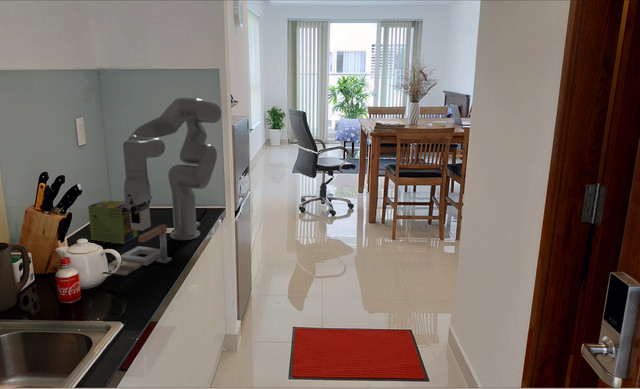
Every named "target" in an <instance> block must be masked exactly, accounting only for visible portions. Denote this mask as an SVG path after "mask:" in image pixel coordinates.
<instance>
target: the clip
mask: <svg viewBox="0 0 640 389" xmlns="http://www.w3.org/2000/svg"><path fill="white" fill-rule="evenodd" d="M162 232H166V233H167V232H168V226H167V224H158V225H157V226H156V227H154V228H152V229H149V230H148V231H146V232H144V233H142V234H140V235H137V237H138V242H139V243H146V242H147V241H149V240H152V238H155V237H157V236H159V234H160V233H162Z"/></svg>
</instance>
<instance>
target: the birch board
mask: <svg viewBox="0 0 640 389" xmlns="http://www.w3.org/2000/svg"><path fill="white" fill-rule="evenodd" d="M117 260H118V259H114V260H113V261H112V262H110V263H108V264H109V272H111V271H113V270H114V269H115V267H116V265H117ZM141 267H142V265H141V263H134V262H127V261H122V264H121V267H120V268H119V269H118V270H117V271H116V272H115V273H114V275H118V276H120V275H121V276H127V275H129V274H131V273H132V272H134V271H136V270H137V269H139V268H141Z"/></svg>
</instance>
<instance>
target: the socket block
mask: <svg viewBox="0 0 640 389" xmlns="http://www.w3.org/2000/svg"><path fill="white" fill-rule="evenodd" d="M139 255H146V256H139ZM120 256H121V258H122V261H127V262H134V263H141V266H149V265H150V264H152V263H153V262H156V260H158V259H159V258H161V254H160V248H155V247H150V246H149V247H148V246H140V245H138V246H136V247H134V248H132V249H130V250H128V251H126V252H124V253H122V254H121V255H120Z"/></svg>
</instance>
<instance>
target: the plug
mask: <svg viewBox="0 0 640 389" xmlns="http://www.w3.org/2000/svg"><path fill="white" fill-rule="evenodd" d="M133 205H134V204H133ZM133 208H134V209H135V206H133ZM138 213H139V218H140V223H139V224H138V223H132V221H131V229H134V230H137V231H145V230H146V229H148V228H151V227H152V225H151V224H152V222H151V212H150V204H145V203H142V204H140V205H138ZM130 220H131V213H130Z"/></svg>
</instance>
